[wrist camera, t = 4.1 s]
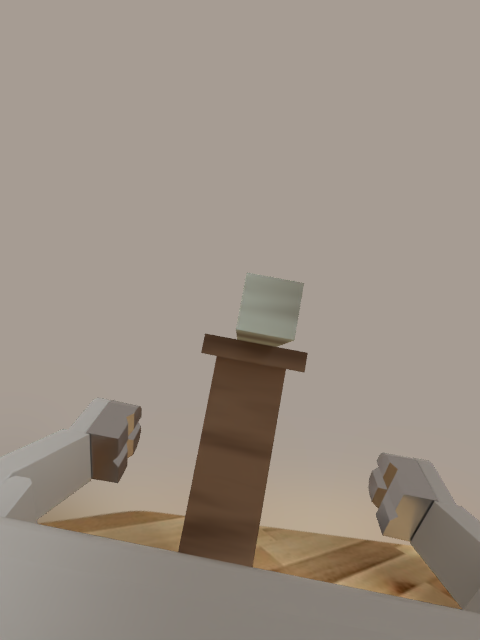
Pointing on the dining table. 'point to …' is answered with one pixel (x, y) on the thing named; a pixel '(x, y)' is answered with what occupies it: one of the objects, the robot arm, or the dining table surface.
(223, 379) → the stand
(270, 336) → the grey green bar
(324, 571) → the dining table surface
